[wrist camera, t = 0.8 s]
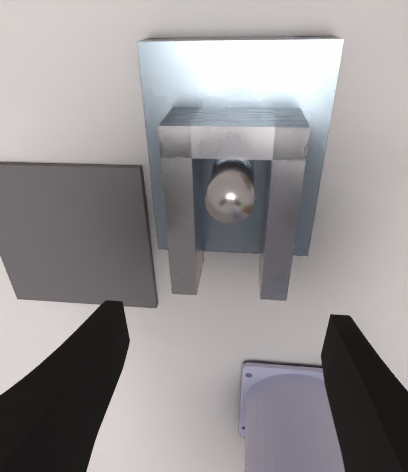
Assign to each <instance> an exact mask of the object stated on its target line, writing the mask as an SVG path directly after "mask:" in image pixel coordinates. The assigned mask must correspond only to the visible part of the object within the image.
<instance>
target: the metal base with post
mask: <svg viewBox="0 0 408 472" xmlns="http://www.w3.org/2000/svg"><path fill="white" fill-rule="evenodd" d="M343 41H344V39H342V38H339V37H336V36H284V37H207V38H148V39H144V40H141V41H138V42H137V48H138V58H139V67H140V77H141V87H142V96H143V106H144V116H145V125H146V135H147V145H148V154H149V164H150V174H151V183H152V193H153V203H154V212H155V222H156V232H157V241H158V249H168V239H167V227H166V216H165V204H164V192H163V180H162V169H161V157H160V145H159V134H158V125H159V124H160V122H161V121H162V120H163V119H164V117H165V116H166V115H167V114H168V112H169V111H170V110H171V109H172V107H267V108H301V110H302V112H303V114H304V116H305V118H306V120H307V122H308V124H309V126H310V134H309V141H308V148H307V155H306V162H305V170H304V177H303V184H302V191H301V198H300V206H299V213H298V220H297V227H296V234H295V242H294V249H293V255H298V256H308V251H309V245H310V239H311V233H312V227H313V221H314V215H315V209H316V203H317V197H318V191H319V185H320V179H321V173H322V167H323V161H324V155H325V149H326V143H327V137H328V131H329V125H330V119H331V113H332V107H333V101H334V95H335V89H336V83H337V77H338V71H339V65H340V59H341V53H342V47H343ZM266 167H267V160H246V159H202V200H203V245H204V251H215V252H236V253H256V254H260V243H261V230H262V218H263V205H264V192H265V180H266Z"/></svg>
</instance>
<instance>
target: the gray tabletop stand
mask: <svg viewBox="0 0 408 472" xmlns="http://www.w3.org/2000/svg"><path fill="white" fill-rule="evenodd" d="M158 134H159V145H160V157H161V169H162V180H163V192H164V204H165V216H166V227H167V239H168V251H169V262H170V274H171V286H172V294H186V295H197V292H198V287H199V281H200V276H201V271H202V265H203V260H204V245H203V200H202V159H246V160H267V167H266V180H265V192H264V205H263V218H262V230H261V243H260V256H259V275H260V299H269V300H285V301H286V299H287V292H288V285H289V278H290V270H291V263H292V256H293V249H294V242H295V234H296V227H297V220H298V213H299V206H300V198H301V191H302V184H303V177H304V170H305V162H306V155H307V148H308V141H309V134H310V126H309V124H308V122H307V120H306V118H305V116H304V114H303V112H302V110H301V108H267V107H172V109H171V110H170V111H169V112H168V114H167V115H166V116H165V117H164V119H163V120H162V121H161V122H160V124H159V125H158Z"/></svg>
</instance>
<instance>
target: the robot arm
mask: <svg viewBox="0 0 408 472" xmlns="http://www.w3.org/2000/svg"><path fill="white" fill-rule="evenodd" d="M129 342H130V339H129V334H128V328H127V323H126V318H125V312H124V307H123V302H122V301H111V300H106V301H104V302H103V303H102V304H101V305H100V306H99V307H98V308H97V310H96V311H95V312H94V313H93V314H92V315H91V316H90V317H89V318H88V319H87V320H86V321H85V322H84V323H83V324H82V325H81V326H80V327H79V328H78V329H77V330H76V331H75V332H74V333H73V334H72V335H71V336H70V337H69V338H68V339H67V340H66V341H65V342H64V343H63V344H62V345H61V346H60V347H59V348H57V349H56V350H55V351H54V352H53V353H52V354H51V355H50V356H49V357H47V358H46V359H45V360H44V361H43V362H42V363H41V364H40V365H39V366H37V367H36V368H35V369H34V370H33V371H31V372H30V373H29V374H28V375H26V376H25V377H24V378H23V379H21V380H20V381H19V382H18V383H16V384H15V385H14V386H12V387H11V388H10V389H8V390H7V391H6V392H4V393H3V394H1V395H0V472H86V470H87V467H88V464H89V460H90V457H91V453H92V450H93V446H94V443H95V440H96V437H97V434H98V431H99V428H100V426H101V423H102V421H103V418H104V416H105V413H106V410H107V408H108V405H109V403H110V400H111V398H112V395H113V393H114V390H115V388H116V385H117V382H118V380H119V377H120V375H121V372H122V369H123V366H124V362H125V358H126V355H127V351H128V346H129ZM321 360H322V368H313V367H301V366H288V365H275V364H263V363H250V362H249V363H245V364H243V366H242V381H241V398H240V414H239V432H238V434H239V435H240V436H241V437H244V438H245V472H408V391H407V390H406V389H405V388H404V386H403V385H402V384H401V383H400V382H399V380H398V379H397V378H396V377H395V376H394V374H393V373H392V372H391V371H390V369H389V368H388V367H387V366H386V364H385V363H384V362H383V360H382V359H381V358H380V357H379V355H378V354H377V353H376V351H375V350H374V349H373V347H372V346H371V345H370V343H369V342H368V340H367V339H366V338H365V336H364V335H363V333H362V332H361V331H360V329H359V328H358V326H357V325H356V323H355V322H354V321H353V319H352V318H351V317H350V316H348V315H333V314H331V315H330V319H329V323H328V327H327V332H326V336H325V340H324V345H323V349H322V353H321Z"/></svg>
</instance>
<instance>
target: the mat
mask: <svg viewBox="0 0 408 472" xmlns="http://www.w3.org/2000/svg"><path fill="white" fill-rule="evenodd" d="M0 256H1V258H2V261H3V263H4V266H5V268H6V271H7V274H8V276H9V279H10V281H11V284H12V286H13V289H14V291H15V294H16V297H17V299H24V300H39V301H54V302H70V303H85V304H100V305H101V304H102V303H103V302H104V301H106V300H111V301H122V302H123V306H131V307H146V308H157V305H158V302H157V293H156V285H155V276H154V267H153V259H152V250H151V241H150V233H149V224H148V215H147V207H146V198H145V190H144V181H143V172H142V166H139V165H98V164H56V163H14V162H0Z"/></svg>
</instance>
